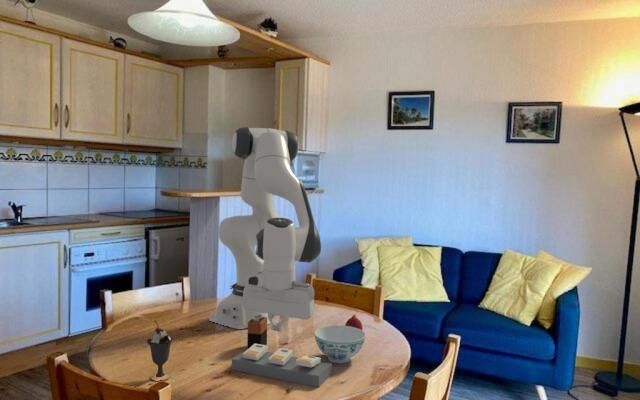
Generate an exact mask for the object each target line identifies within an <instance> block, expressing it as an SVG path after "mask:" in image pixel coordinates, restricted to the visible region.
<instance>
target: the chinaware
mask: <svg viewBox="0 0 640 400" xmlns="http://www.w3.org/2000/svg"><path fill="white" fill-rule="evenodd" d="M314 338H315V342H316V345H317V347H318V349H319V351H321V353H322V354H323V355H325V356H326V357H327V359H328V361H330V363H335V364H346V363H348V362H350V361H351V360H352V358H353V357H355V356H356V355H357V354H358V353H359V352H360V350H361V349H362V347H363V345H364V344H365V339H366V333H365V331H364V330H363V329H362V330H360V329H358V328H355V327H350V326H345V325H339V324H338V325H326V326H322V327H319V328H317V329H316V330H315V331H314Z"/></svg>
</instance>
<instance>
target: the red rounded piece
mask: <svg viewBox="0 0 640 400" xmlns="http://www.w3.org/2000/svg"><path fill="white" fill-rule="evenodd" d="M344 326H350V327H355V328H358V329H360V330H362V331H363V323H362V321H361V319H359V318H358V317H357V315H356V314H352V315H351V317H350V318H348V319H347V321H346V323H345V325H344Z"/></svg>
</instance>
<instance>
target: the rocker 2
mask: <svg viewBox="0 0 640 400" xmlns="http://www.w3.org/2000/svg"><path fill="white" fill-rule="evenodd" d="M273 353H274V354H273V355H272V356H271V357H270V358H269V363H274V364H279V365H284V364H285V363H286V362H288V361H289V359H290V358H291V357H292V356H293V357H294V354H295V352H294V349H290V348H289V349H288V348H282V347H279V348H278V349H277V350H276V351H275V352H273Z"/></svg>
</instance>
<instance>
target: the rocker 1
mask: <svg viewBox="0 0 640 400" xmlns="http://www.w3.org/2000/svg"><path fill="white" fill-rule="evenodd" d="M246 350H247V349H246ZM246 350H245V351H246ZM243 352H244V351H243ZM266 352H269V345H268V344H267V345H261V344H253V345H252V346H251V347H250V348H249V349H248V350H247V351H246V352H244V353H243V358H247V359H252V360H258V359H259V358H260V357H262V356H263V354H265V353H266Z"/></svg>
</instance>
